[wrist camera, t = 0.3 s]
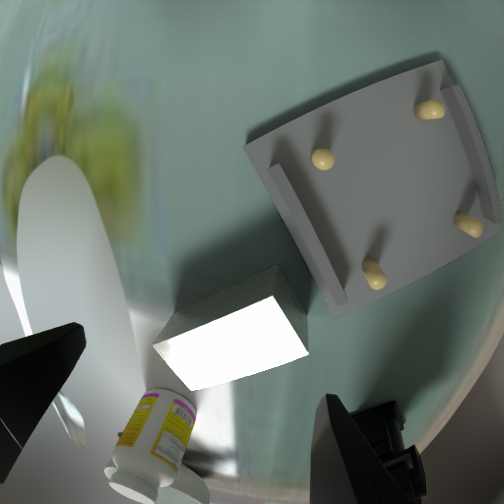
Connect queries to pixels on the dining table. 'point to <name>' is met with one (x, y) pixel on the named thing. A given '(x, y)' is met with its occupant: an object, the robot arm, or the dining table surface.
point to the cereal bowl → (177, 487)
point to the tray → (381, 185)
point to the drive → (236, 331)
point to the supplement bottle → (152, 445)
